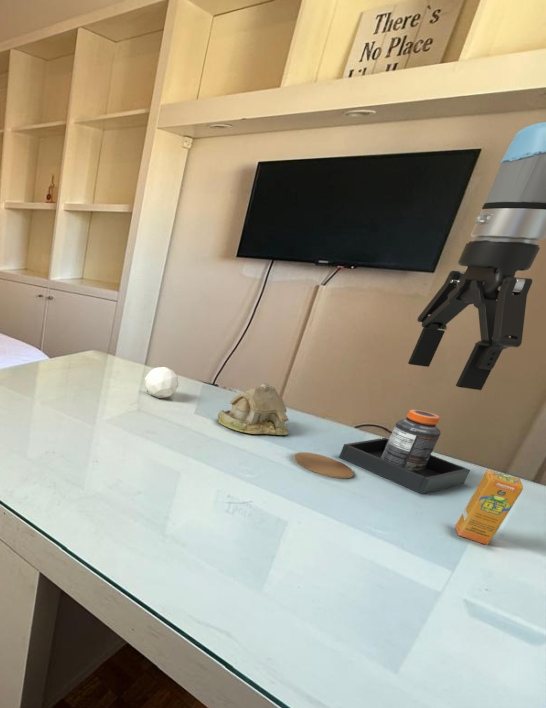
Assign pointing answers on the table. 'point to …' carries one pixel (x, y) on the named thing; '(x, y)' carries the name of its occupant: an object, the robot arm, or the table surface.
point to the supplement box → (488, 507)
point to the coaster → (323, 465)
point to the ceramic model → (256, 412)
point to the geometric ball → (161, 382)
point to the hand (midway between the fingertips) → (441, 375)
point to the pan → (431, 479)
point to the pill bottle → (413, 441)
